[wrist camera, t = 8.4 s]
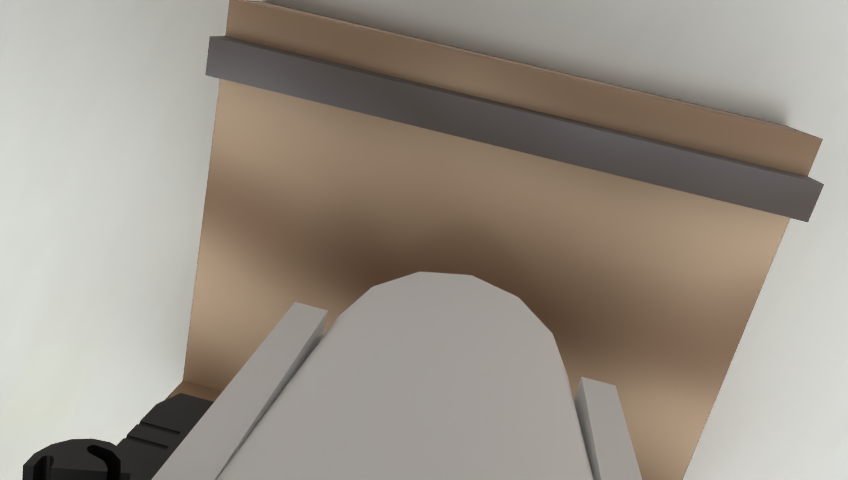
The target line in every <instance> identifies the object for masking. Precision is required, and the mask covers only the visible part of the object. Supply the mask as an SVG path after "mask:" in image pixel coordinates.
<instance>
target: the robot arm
mask: <svg viewBox="0 0 848 480" xmlns="http://www.w3.org/2000/svg"><path fill="white" fill-rule="evenodd" d="M327 312H328V310H324V309H321V308H317V307H313V306H309V305H305V304H301V303H298V302H295V303H294V304H293V305H292V307H291V308H290V309H289V310H288V311H287V313H286V314H285V315H284V316H283V318H282V319H281V320H280V321H279V323H278V324H277V325H276V326H275V328H274V329H273V330H272V331H271V332H270V334H269V335H268V336H267V337H266V339H265V340H264V341H263V342H262V344H261V345H260V346H259V347H258V349H257V350H256V351H255V352H254V353H253V355H252V356H251V357H250V358H249V360H248V361H247V362H246V363H245V365H244V366H243V367H242V368H241V370H240V371H239V372H238V373H237V374H236V376H235V377H234V378H233V379H232V381H231V382H230V383H229V384H228V386H227V387H226V388H225V389H224V391H223V392H222V393H221V394H220V395H219V397H218V398H217V399H216V400H215V402H213V401H209V400H206V399H202V398H198V397H194V396H191V395H187V394H183V393H179V394H177V395H175V396H173V397H171V398H169V399H167V400H165V401H162V402H160V403H158V404H156V405H155V406H154V407H153V408H152V409H151V410H150V412H149V413H148V414H147V415H146V416H145V417H144V418H143V419H142V420H141V421H140V424H139V425H138V424H137V425H136V426H135V427H134V428H133V429H132V430H131V431H130V432H129V433H128V434H127V437H126V439H123V440H122V441H121V442H120V443H119V444H118V445H117V446H116V445H114V444H112V443H110V442H105V441H101V440H96V439H71V440H67V441H63V442H59V443H55V444H52V445H50V446H48V447H46V448H44V449H42V450H40V451H38V452H36V453H35V454H34V455H33V456H32V457H31V458H30V459H29V460H28V461H27V462H26V463H25V464H24V465H23V480H216V479H217V478H218V477H219V475H220V474H221V473H222V471H223V470H224V468H225V467H226V466H227V464H228V463H229V461H230V460H231V459H232V457H233V456H234V455H235V453H236V452H237V450H238V449H239V448H240V446H241V445H242V444H243V442H244V441H245V439H246V438H247V437H248V435H249V434H250V433H251V431H252V430H253V429H254V427H255V426H256V425H257V423H258V422H259V421H260V419H261V418H262V417H263V415H264V414H265V413H266V411H267V410H268V409H269V407H270V406H271V405H272V404H273V402H274V401H275V400H276V398H277V397H278V396H279V394H280V393H281V392H282V390H283V389H284V388H285V386H286V385H287V384H288V382H289V381H290V380H291V379H292V377H293V376H294V375H295V373H296V372H297V371H298V369H299V368H300V367H301V365H302V364H303V363H304V361H305V360H306V359H307V357H308V356H309V355H310V353H311V352H312V351H313V350H314V348H315V347H316V346H317V344H318V343H319V342H320V340H321V339H322V337H323V332H324V327H325V322H326V317H327ZM574 404H575V408H576V412H577V416H578V419H579V423H580V427H581V431H582V435H583V439H584V443H585V447H586V451H587V455H588V459H589V463H590V467H591V471H592V475H593V479H594V480H642V477H641V473H640V470H639V466H638V463H637V459H636V456H635V452H634V449H633V445H632V442H631V438H630V435H629V431H628V428H627V424H626V420H625V417H624V413H623V410H622V406H621V403H620V399H619V396H618V392H617V389H616V386H615V385H612V384H608V383H604V382H600V381H596V380H592V379H589V378H585V377H581V380H580V383H579V386H578V389H577V392H576V395H575V398H574Z"/></svg>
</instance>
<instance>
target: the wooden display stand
mask: <svg viewBox="0 0 848 480" xmlns="http://www.w3.org/2000/svg"><path fill="white" fill-rule="evenodd" d="M206 75H208V76H212V77H216V78H220V84H219V92H218V100H217V108H216V116H215V124H214V132H213V141H212V149H211V157H210V165H209V173H208V181H207V189H206V197H205V205H204V213H203V222H202V230H201V238H200V246H199V254H198V262H197V270H196V278H195V286H194V294H193V303H192V311H191V319H190V327H189V335H188V343H187V351H186V359H185V367H184V375H183V381H182V382H181V383H180V384H179V385H178V387H177V388H176V389H175V390H174V391H173V392H172V393H171V394H170V395H169V396H168V397H167V398H166V399H165V400H167V399H169V398H171V397H173V396H175V395H177V394H179V393H183V394H187V395H191V396H194V397H198V398H202V399H206V400H209V401H213V402H215V400H216V399H217V398H218V397H219V395H220V394H221V393H222V392H223V391H224V389H225V388H226V387H227V386H228V384H229V383H230V382H231V381H232V379H233V378H234V377H235V376H236V374H237V373H238V372H239V371H240V370H241V368H242V367H243V366H244V365H245V363H246V362H247V361H248V360H249V358H250V357H251V356H252V355H253V353H254V352H255V351H256V350H257V349H258V347H259V346H260V345H261V344H262V342H263V341H264V340H265V339H266V337H267V336H268V335H269V334H270V332H271V331H272V330H273V329H274V328H275V326H276V325H277V324H278V323H279V321H280V320H281V319H282V318H283V316H284V315H285V314H286V313H287V311H288V310H289V309H290V308H291V307H292V305H293V304H294V303H295V302H298V303H301V304H305V305H309V306H313V307H317V308H321V309H324V310H328V312H327V317H326V322H325V327H324V332H323V336H324V335H325V334H326V332H327V331H328V330H329V328H330V327H331V326H332V325H333V323H334V322H335V321H336V319H337V317H338V316H340V315H341V314H342V313H343V312H344V311H345V310H346V309H348V308H349V307H350V306H351V305H352V304H353V303H354V302H356V301H357V300H358V299H359V298H360V297H361V296H362V295H364V294H365V293H366V292H367V291H368V290H369V289H370V288H372V287H373V286H376V285H379V284H382V283H385V282H389V281H392V280H395V279H398V278H401V277H404V276H407V275H410V274H413V273H417V272H434V273H448V274H463V275H472V276H474V277H476V278H479V279H481V280H483V281H485V282H487V283H489V284H491V285H494V286H496V287H498V288H500V289H502V290H504V291H506V292H509V293H511V294H513V295H515V296H517V297H519V298H520V299H521V300H522V301H523V303H524V304H525V305H526V306H527V307H528V308H529V309H530V310H531V311H532V312H533V313H534V314H535V315H536V316H537V318H538V319H539V320H540V321H541V322H542V323H543V324H544V325H545V326H546V327H547V328H548V329H549V330H550V331H551V332H552V334H553V336H554V339H555V342H556V345H557V347H558V350H559V353H560V356H561V359H562V361H563V364H564V367H565V370H566V373H567V376H568V379H569V384H570V388H571V392H572V396H573V400H574V398H575V395H576V392H577V389H578V386H579V383H580V380H581V377H585V378H589V379H592V380H596V381H600V382H604V383H608V384H612V385H615V386H616V389H617V392H618V396H619V399H620V403H621V406H622V410H623V413H624V417H625V420H626V424H627V428H628V431H629V435H630V438H631V442H632V445H633V449H634V452H635V456H636V459H637V463H638V466H639V470H640V473H641V477H642V480H683V477H684V475H685V472H686V470H687V467H688V465H689V463H690V460H691V458H692V455H693V453H694V451H695V448H696V446H697V443H698V441H699V438H700V436H701V434H702V431H703V429H704V426H705V424H706V421H707V419H708V417H709V414H710V412H711V409H712V407H713V404H714V402H715V400H716V397H717V395H718V392H719V390H720V387H721V385H722V383H723V380H724V378H725V375H726V373H727V370H728V368H729V366H730V363H731V361H732V358H733V356H734V353H735V351H736V349H737V346H738V344H739V341H740V339H741V336H742V334H743V332H744V329H745V327H746V324H747V322H748V319H749V317H750V315H751V312H752V310H753V307H754V305H755V302H756V300H757V298H758V295H759V293H760V290H761V288H762V285H763V283H764V281H765V278H766V276H767V273H768V271H769V269H770V266H771V264H772V261H773V259H774V256H775V254H776V252H777V249H778V247H779V244H780V242H781V239H782V237H783V235H784V232H785V230H786V227H787V225H788V222H789V220H790V218H793V219H797V220H801V221H805V222H808V221H809V218H810V216H811V214H812V211H813V209H814V207H815V204H816V202H817V199H818V197H819V195H820V192H821V190H822V188H823V185H824V184H822V183H820V182H818V181H816V180H814V179H812V178H810V177H808V174H809V171H810V169H811V167H812V164H813V162H814V159H815V157H816V154H817V152H818V150H819V147H820V145H821V142H822V140H823V139H821V138H818V137H815V136H812V135H810V134H807V133H804V132H801V131H799V130H796V129H793V128H790V127H788V126H784V125H780V124H776V123H771V122H767V121H763V120H759V119H755V118H750V117H746V116H742V115H738V114H734V113H729V112H725V111H721V110H717V109H712V108H708V107H704V106H700V105H696V104H691V103H687V102H683V101H679V100H675V99H670V98H666V97H662V96H658V95H653V94H649V93H645V92H641V91H637V90H632V89H628V88H624V87H620V86H616V85H611V84H607V83H603V82H599V81H594V80H590V79H586V78H582V77H578V76H573V75H569V74H565V73H561V72H557V71H552V70H548V69H544V68H540V67H535V66H531V65H527V64H523V63H519V62H514V61H510V60H506V59H502V58H498V57H493V56H489V55H485V54H481V53H476V52H472V51H468V50H464V49H460V48H455V47H451V46H447V45H443V44H439V43H434V42H430V41H426V40H422V39H417V38H413V37H409V36H405V35H401V34H396V33H392V32H388V31H384V30H380V29H375V28H371V27H367V26H363V25H358V24H354V23H350V22H346V21H342V20H337V19H333V18H329V17H325V16H321V15H316V14H312V13H308V12H304V11H299V10H295V9H291V8H287V7H283V6H278V5H274V4H270V3H266V2H260V1H251V0H230V3H229V11H228V19H227V27H226V35H225V36H212V37H210V41H209V50H208V58H207V67H206ZM322 338H323V337H322ZM165 400H164V401H165Z"/></svg>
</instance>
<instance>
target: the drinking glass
mask: <svg viewBox="0 0 848 480" xmlns="http://www.w3.org/2000/svg"><path fill="white" fill-rule="evenodd" d="M216 480H594V479H593V475H592V471H591V467H590V463H589V459H588V455H587V451H586V447H585V443H584V439H583V435H582V431H581V427H580V423H579V419H578V416H577V412H576V408H575V404H574V400H573V396H572V392H571V388H570V384H569V379H568V376H567V373H566V370H565V367H564V364H563V361H562V359H561V356H560V353H559V350H558V347H557V345H556V342H555V339H554V336H553V334H552V332H551V331H550V330H549V329H548V328H547V327H546V326H545V325H544V324H543V323H542V322H541V321H540V320H539V319H538V318H537V316H536V315H535V314H534V313H533V312H532V311H531V310H530V309H529V308H528V307H527V306H526V305H525V304H524V303H523V301H522V300H521V299H520V298H519V297H517V296H515V295H513V294H511V293H509V292H506V291H504V290H502V289H500V288H498V287H496V286H494V285H491V284H489V283H487V282H485V281H483V280H481V279H479V278H476V277H474V276H472V275H463V274H448V273H434V272H417V273H413V274H410V275H407V276H404V277H401V278H398V279H395V280H392V281H389V282H385V283H382V284H379V285H376V286H373V287H372V288H370V289H369V290H368V291H367V292H366V293H365V294H364V295H362V296H361V297H360V298H359V299H358V300H357V301H356V302H354V303H353V304H352V305H351V306H350V307H349V308H348V309H346V310H345V311H344V312H343V313H342V314H341V315H340V316H338V317H337V319H336V321H335V322H334V323H333V325H332V326H331V327H330V328H329V330H328V331H327V332H326V334H325V335H324V336H323V338H322V339H321V340H320V342H319V343H318V344H317V346H316V347H315V348H314V350H313V351H312V352H311V353H310V355H309V356H308V357H307V359H306V360H305V361H304V363H303V364H302V365H301V367H300V368H299V369H298V371H297V372H296V373H295V375H294V376H293V377H292V379H291V380H290V381H289V382H288V384H287V385H286V386H285V388H284V389H283V390H282V392H281V393H280V394H279V396H278V397H277V398H276V400H275V401H274V402H273V404H272V405H271V406H270V407H269V409H268V410H267V411H266V413H265V414H264V415H263V417H262V418H261V419H260V421H259V422H258V423H257V425H256V426H255V427H254V429H253V430H252V431H251V433H250V434H249V435H248V437H247V438H246V439H245V441H244V442H243V444H242V445H241V446H240V448H239V449H238V450H237V452H236V453H235V455H234V456H233V457H232V459H231V460H230V461H229V463H228V464H227V466H226V467H225V468H224V470H223V471H222V473H221V474H220V475H219V477H218V478H217V479H216Z"/></svg>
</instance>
